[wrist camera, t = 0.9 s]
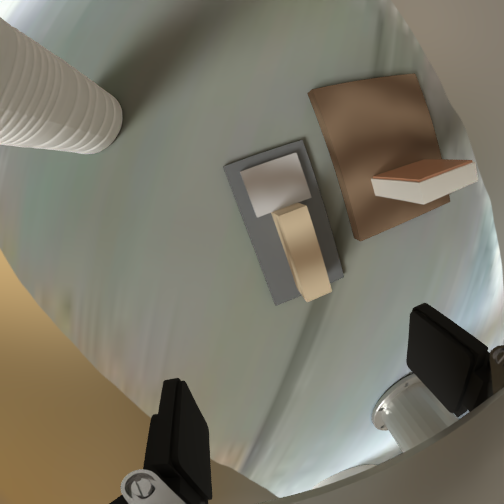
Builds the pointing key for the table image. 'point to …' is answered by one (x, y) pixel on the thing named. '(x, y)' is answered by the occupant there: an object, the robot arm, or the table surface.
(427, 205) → the board
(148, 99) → the table surface
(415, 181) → the tile
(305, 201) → the mat
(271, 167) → the turner
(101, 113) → the water bottle
